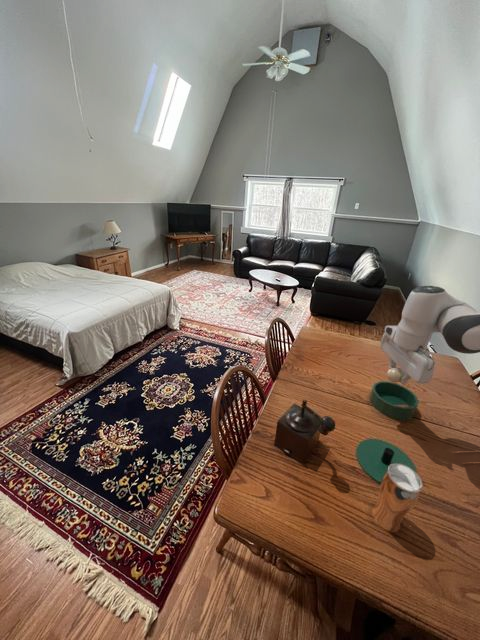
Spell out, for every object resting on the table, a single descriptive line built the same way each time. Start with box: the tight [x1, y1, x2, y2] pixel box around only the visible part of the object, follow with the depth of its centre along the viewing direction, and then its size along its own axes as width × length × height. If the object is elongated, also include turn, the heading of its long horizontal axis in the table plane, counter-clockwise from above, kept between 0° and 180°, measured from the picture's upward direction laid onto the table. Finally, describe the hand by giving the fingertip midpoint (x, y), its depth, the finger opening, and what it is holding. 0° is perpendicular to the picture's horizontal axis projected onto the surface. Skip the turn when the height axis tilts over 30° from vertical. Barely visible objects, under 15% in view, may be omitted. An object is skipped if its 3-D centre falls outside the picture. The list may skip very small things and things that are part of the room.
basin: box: [369, 380, 420, 421], centre depth 97 cm, size 15×15×6 cm
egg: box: [386, 367, 405, 383], centre depth 86 cm, size 7×4×4 cm, turn 94°
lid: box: [355, 438, 418, 485], centre depth 75 cm, size 16×16×5 cm
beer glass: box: [371, 463, 424, 533], centre depth 60 cm, size 7×7×15 cm
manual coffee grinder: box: [273, 399, 336, 464], centre depth 76 cm, size 16×11×18 cm
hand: (397, 376), depth 86 cm, fingers closed on egg, 4 cm apart
